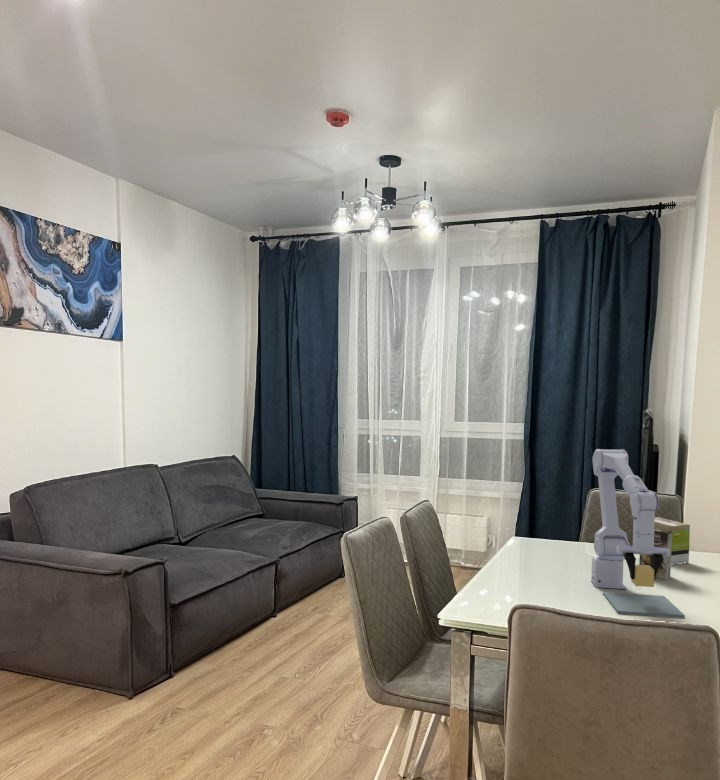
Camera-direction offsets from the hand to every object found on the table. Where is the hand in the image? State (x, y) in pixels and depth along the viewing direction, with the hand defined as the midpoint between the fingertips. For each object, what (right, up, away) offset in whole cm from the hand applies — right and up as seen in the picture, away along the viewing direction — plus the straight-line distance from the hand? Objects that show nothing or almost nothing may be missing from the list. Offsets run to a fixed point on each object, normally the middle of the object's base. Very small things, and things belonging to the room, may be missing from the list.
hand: (642, 579), depth 196 cm
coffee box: (+18, -9, +33) cm, 39 cm away
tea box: (+32, -9, +57) cm, 66 cm away
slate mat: (0, -8, 0) cm, 8 cm away
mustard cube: (0, -2, 0) cm, 2 cm away
